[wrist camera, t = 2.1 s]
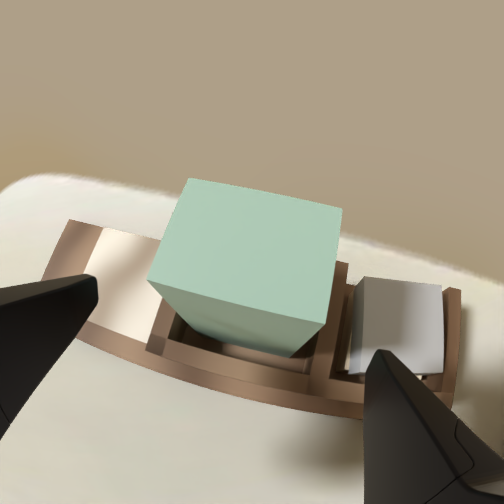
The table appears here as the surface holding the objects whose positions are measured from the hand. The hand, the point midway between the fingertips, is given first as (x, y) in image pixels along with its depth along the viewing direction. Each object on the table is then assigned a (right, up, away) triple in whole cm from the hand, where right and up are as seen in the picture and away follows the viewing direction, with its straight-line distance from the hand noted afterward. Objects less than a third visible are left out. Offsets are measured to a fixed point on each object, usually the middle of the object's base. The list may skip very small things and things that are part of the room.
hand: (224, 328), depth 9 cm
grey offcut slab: (+9, -2, +7) cm, 12 cm away
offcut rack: (-1, -2, +11) cm, 11 cm away
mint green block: (+1, -2, +10) cm, 10 cm away
